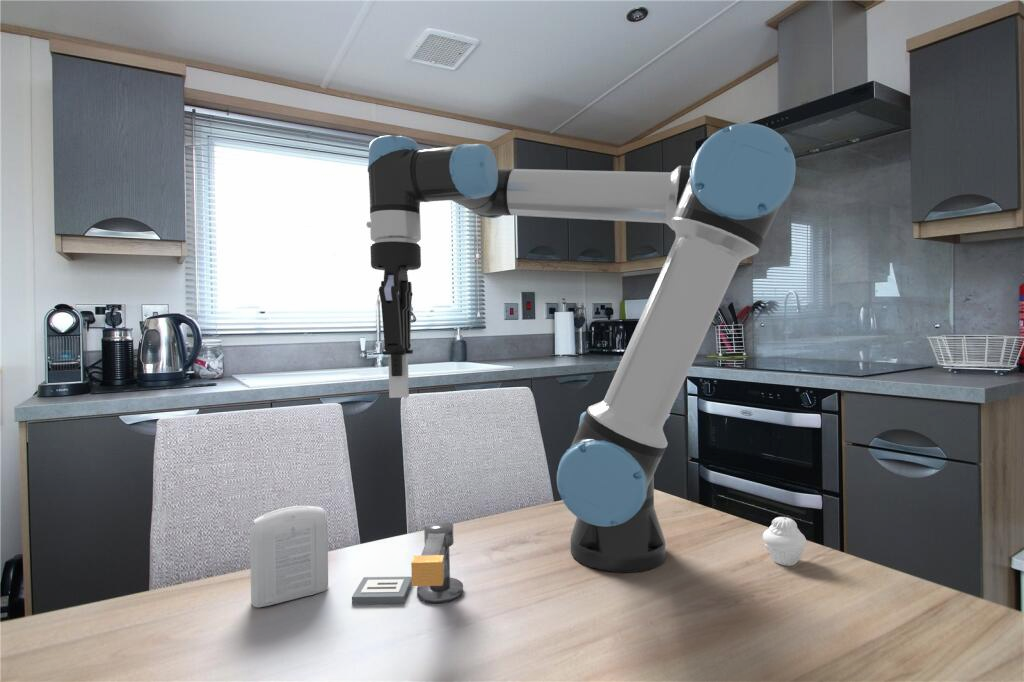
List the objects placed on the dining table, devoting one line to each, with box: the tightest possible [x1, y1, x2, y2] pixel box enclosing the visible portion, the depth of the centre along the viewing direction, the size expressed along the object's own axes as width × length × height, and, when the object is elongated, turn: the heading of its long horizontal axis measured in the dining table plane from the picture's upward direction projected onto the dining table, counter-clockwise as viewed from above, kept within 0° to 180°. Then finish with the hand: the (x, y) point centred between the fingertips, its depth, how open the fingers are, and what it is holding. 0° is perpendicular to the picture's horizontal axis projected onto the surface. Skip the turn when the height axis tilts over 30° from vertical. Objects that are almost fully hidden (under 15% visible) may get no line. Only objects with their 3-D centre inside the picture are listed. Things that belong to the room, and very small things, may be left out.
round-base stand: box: [416, 547, 464, 605], centre depth 80 cm, size 6×6×7 cm
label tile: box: [351, 576, 412, 605], centre depth 80 cm, size 7×6×1 cm
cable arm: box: [410, 520, 455, 587], centre depth 74 cm, size 14×4×3 cm, turn 1°
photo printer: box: [249, 505, 329, 608], centre depth 80 cm, size 10×4×12 cm, turn 123°
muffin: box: [762, 516, 807, 567], centre depth 88 cm, size 6×6×7 cm
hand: (399, 396), depth 88 cm, fingers closed
